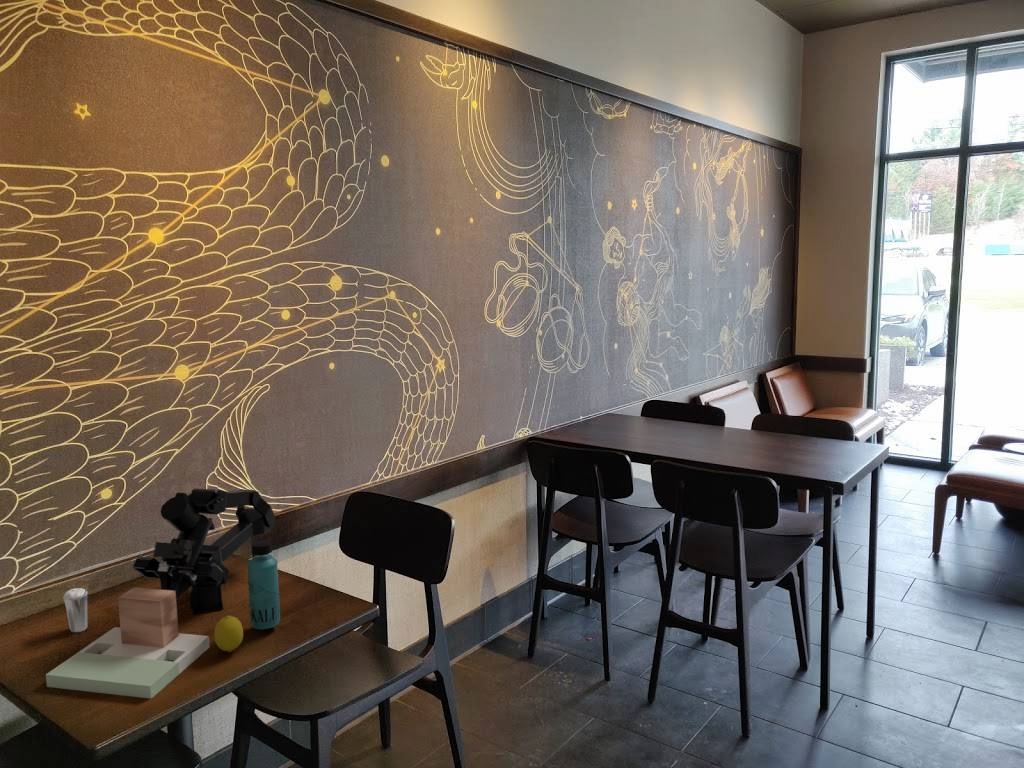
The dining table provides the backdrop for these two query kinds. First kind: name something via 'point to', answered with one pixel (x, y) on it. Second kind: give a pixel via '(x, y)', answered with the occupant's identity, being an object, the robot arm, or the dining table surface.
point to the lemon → (228, 633)
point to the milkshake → (76, 609)
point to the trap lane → (126, 665)
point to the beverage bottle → (263, 587)
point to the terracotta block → (148, 617)
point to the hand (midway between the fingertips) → (163, 608)
